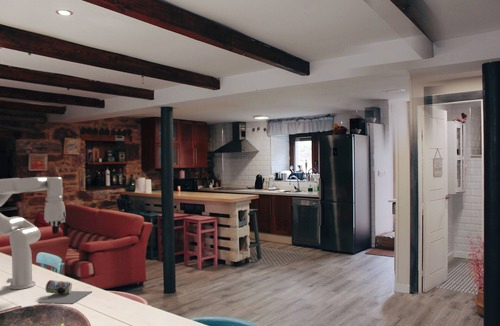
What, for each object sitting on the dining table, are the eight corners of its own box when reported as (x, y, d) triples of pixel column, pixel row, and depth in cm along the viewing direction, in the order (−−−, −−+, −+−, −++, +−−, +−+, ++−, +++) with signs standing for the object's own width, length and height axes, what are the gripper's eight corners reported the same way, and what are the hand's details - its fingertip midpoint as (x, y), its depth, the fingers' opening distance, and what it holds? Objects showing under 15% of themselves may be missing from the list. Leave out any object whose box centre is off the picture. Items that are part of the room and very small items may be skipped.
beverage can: (47, 279, 213) (72, 277, 215) (48, 293, 212) (72, 291, 215) (44, 282, 206) (69, 280, 209) (44, 297, 206) (69, 295, 208)
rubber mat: (37, 303, 198) (37, 302, 198) (59, 291, 216) (59, 290, 216) (73, 303, 196) (73, 303, 196) (92, 292, 214) (91, 291, 214)
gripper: (37, 200, 222) (38, 234, 222) (64, 200, 221) (64, 234, 220) (46, 199, 230) (47, 232, 230) (71, 199, 228) (72, 232, 228)
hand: (55, 233), depth 225 cm, fingers closed
